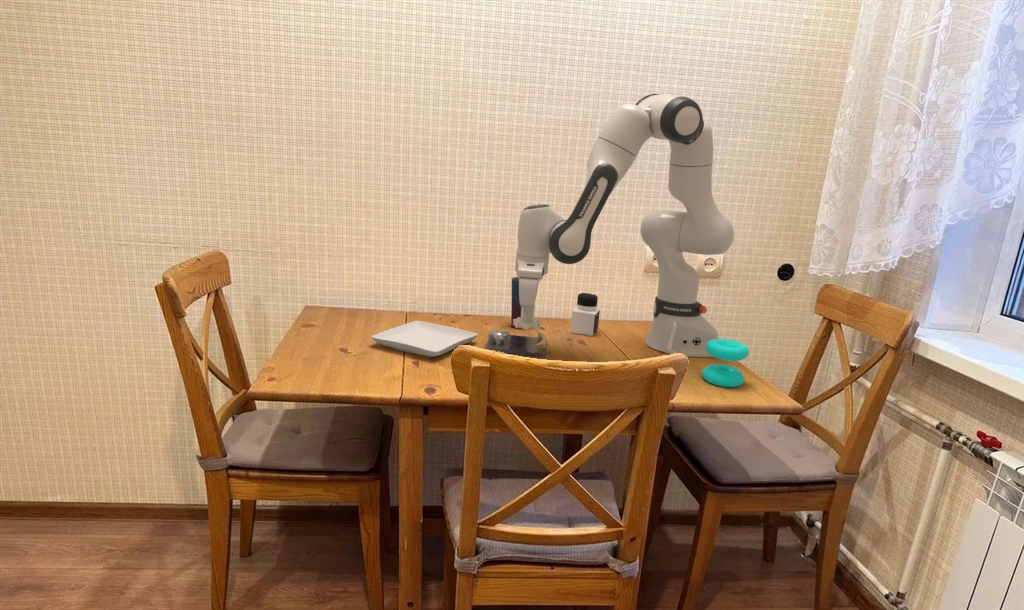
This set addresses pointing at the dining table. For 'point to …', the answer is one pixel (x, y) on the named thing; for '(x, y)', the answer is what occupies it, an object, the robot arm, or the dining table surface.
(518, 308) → the cup
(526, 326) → the planet gear
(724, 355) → the donuts
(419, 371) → the dining table surface
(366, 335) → the dining table surface
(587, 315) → the medicine bottle
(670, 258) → the robot arm
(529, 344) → the carrier plate
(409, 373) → the dining table surface
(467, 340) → the salad plate
